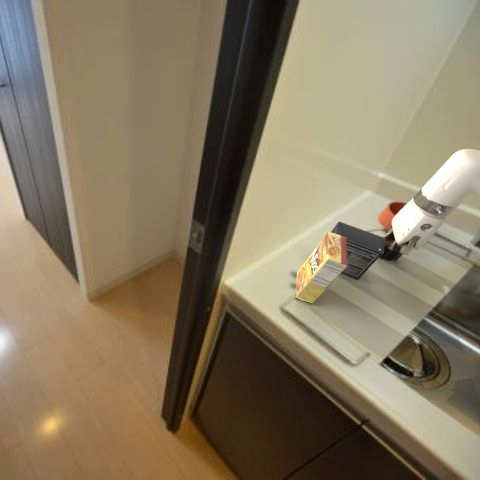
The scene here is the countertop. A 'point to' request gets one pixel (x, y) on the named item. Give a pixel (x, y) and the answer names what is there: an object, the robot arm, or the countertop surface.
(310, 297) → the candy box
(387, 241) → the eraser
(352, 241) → the small box
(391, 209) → the bowl
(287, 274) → the countertop surface
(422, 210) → the robot arm
